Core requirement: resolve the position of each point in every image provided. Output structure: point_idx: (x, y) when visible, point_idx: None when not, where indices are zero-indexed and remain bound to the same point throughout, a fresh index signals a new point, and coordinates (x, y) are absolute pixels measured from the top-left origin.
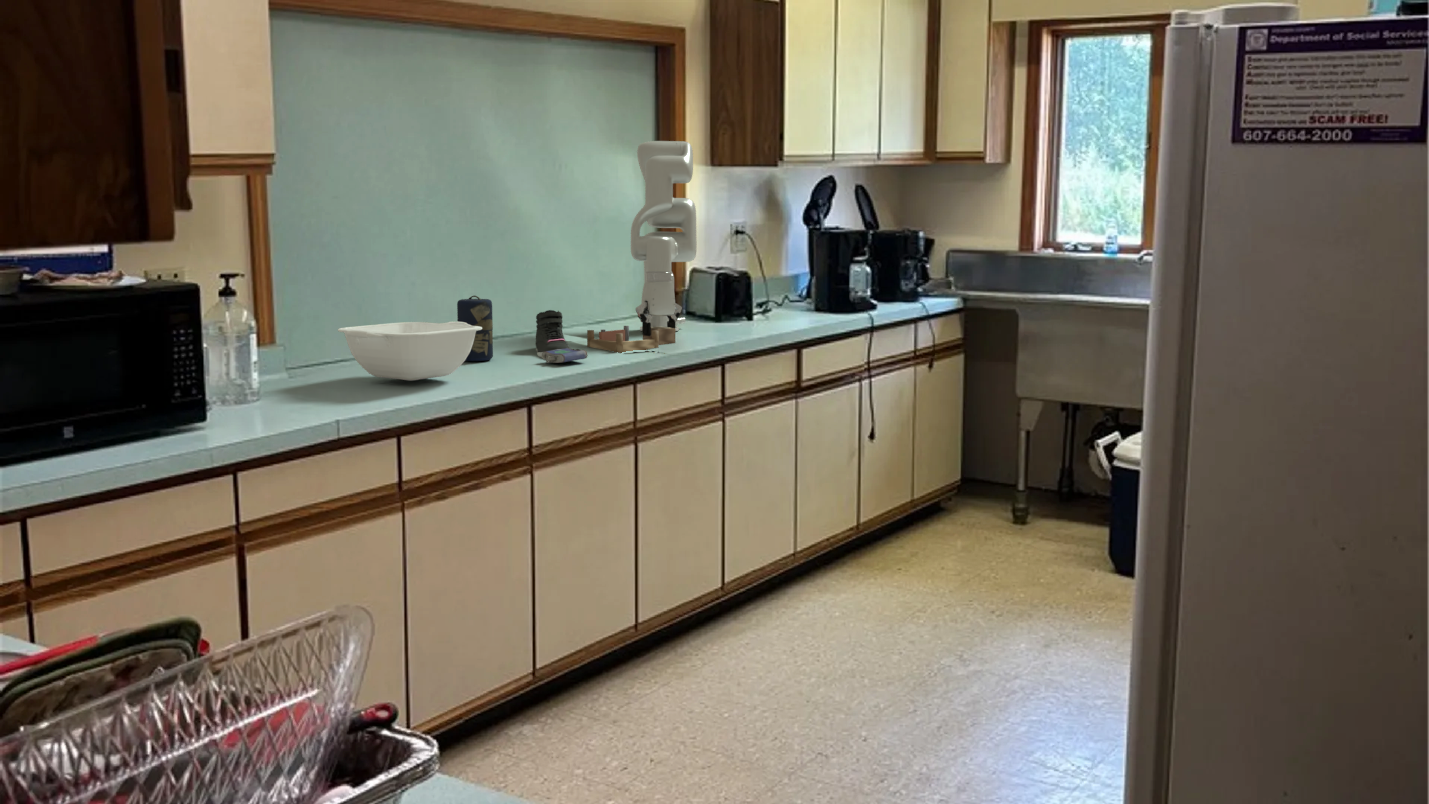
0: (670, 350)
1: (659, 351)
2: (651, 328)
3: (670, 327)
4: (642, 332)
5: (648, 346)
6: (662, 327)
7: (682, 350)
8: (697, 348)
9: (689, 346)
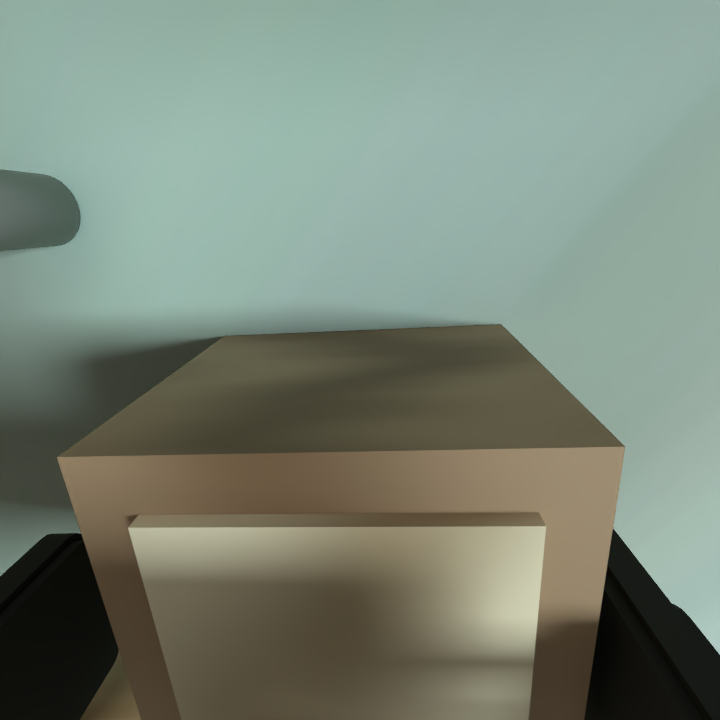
0: None
1: None
2: (168, 639)
3: (614, 716)
4: (17, 562)
5: None
6: (408, 706)
7: None
8: None
9: (713, 542)
